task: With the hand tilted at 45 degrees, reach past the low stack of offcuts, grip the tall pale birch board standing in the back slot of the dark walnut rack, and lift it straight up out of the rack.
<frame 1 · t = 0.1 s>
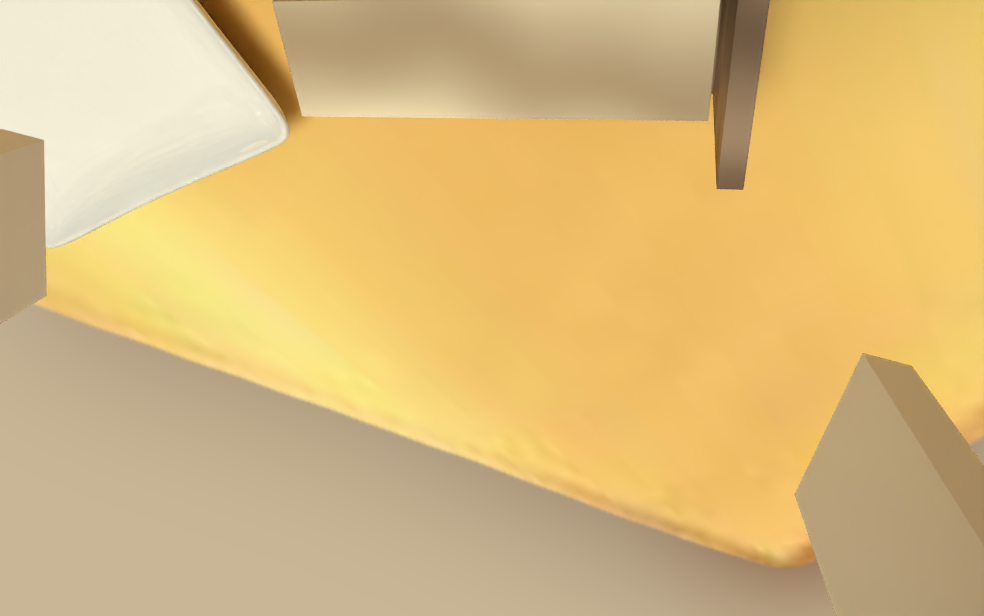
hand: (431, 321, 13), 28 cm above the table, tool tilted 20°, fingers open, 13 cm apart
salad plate: (50, 11, 43), on the table
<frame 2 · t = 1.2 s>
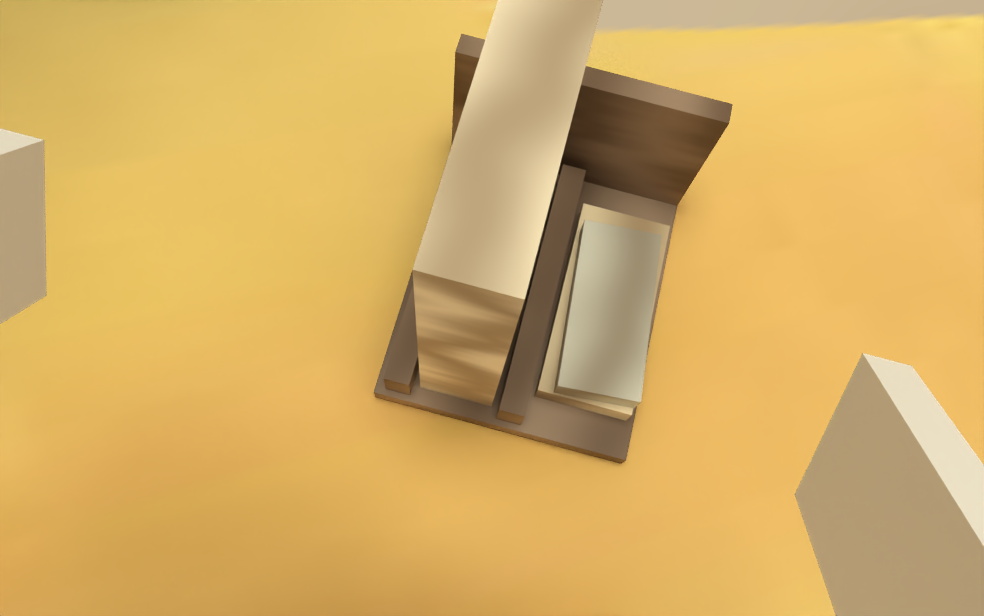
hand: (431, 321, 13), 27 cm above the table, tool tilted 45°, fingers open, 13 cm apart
walnut rack: (486, 290, 41), on the table
offcut stack: (601, 313, 40), point 1 cm above the table, touching walnut rack
birch board: (487, 283, 41), point 1 cm above the table, touching walnut rack
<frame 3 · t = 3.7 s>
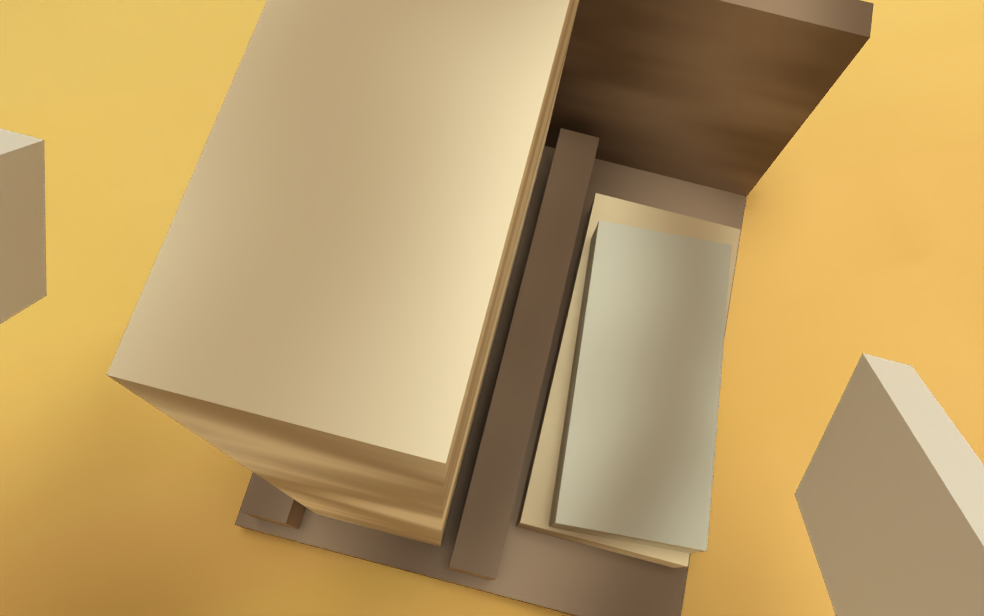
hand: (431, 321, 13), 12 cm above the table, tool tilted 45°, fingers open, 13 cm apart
walnut rack: (436, 339, 25), on the table
offcut stack: (628, 377, 24), point 1 cm above the table, touching walnut rack
birch board: (436, 329, 24), point 1 cm above the table, touching walnut rack
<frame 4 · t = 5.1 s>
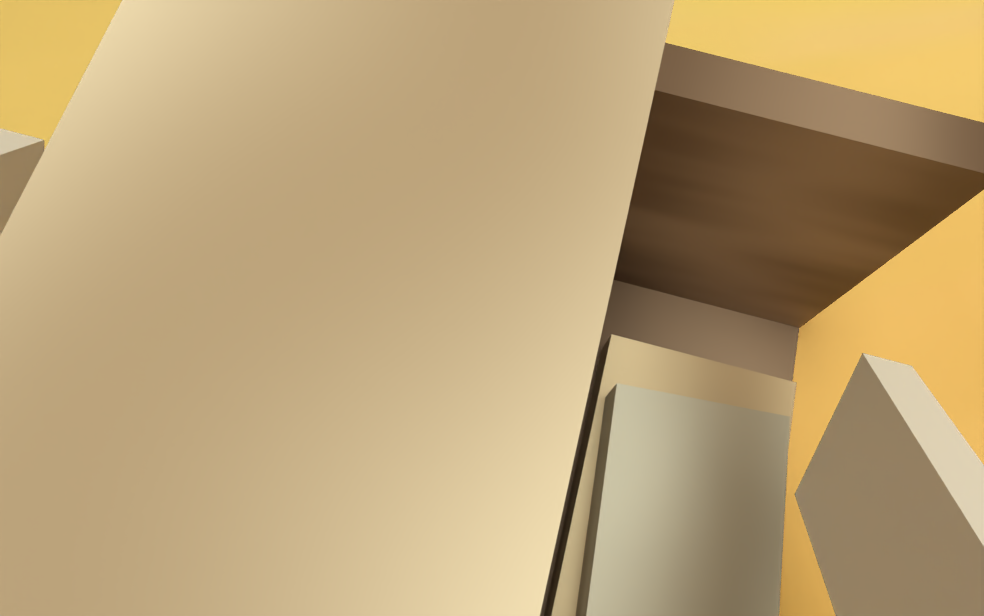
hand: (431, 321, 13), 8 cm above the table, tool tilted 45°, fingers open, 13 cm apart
walnut rack: (408, 514, 20), on the table
offcut stack: (652, 575, 19), point 1 cm above the table, touching walnut rack
birch board: (406, 510, 19), point 1 cm above the table, touching walnut rack
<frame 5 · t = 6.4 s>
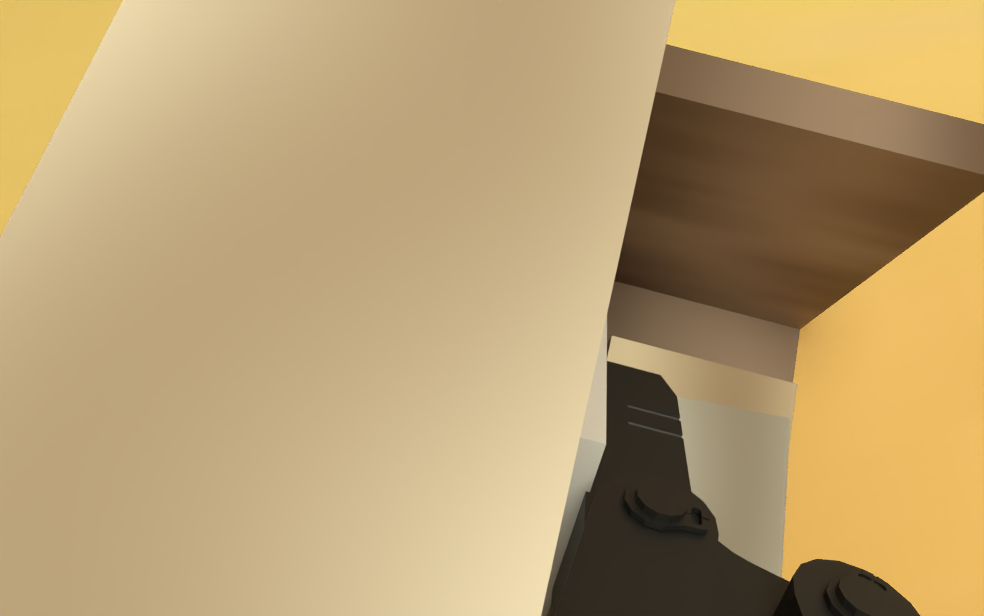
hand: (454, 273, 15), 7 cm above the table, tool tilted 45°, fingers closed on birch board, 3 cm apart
walnut rack: (408, 516, 20), on the table
offcut stack: (652, 576, 19), point 1 cm above the table, touching walnut rack
birch board: (406, 512, 19), point 1 cm above the table, touching gripper, walnut rack
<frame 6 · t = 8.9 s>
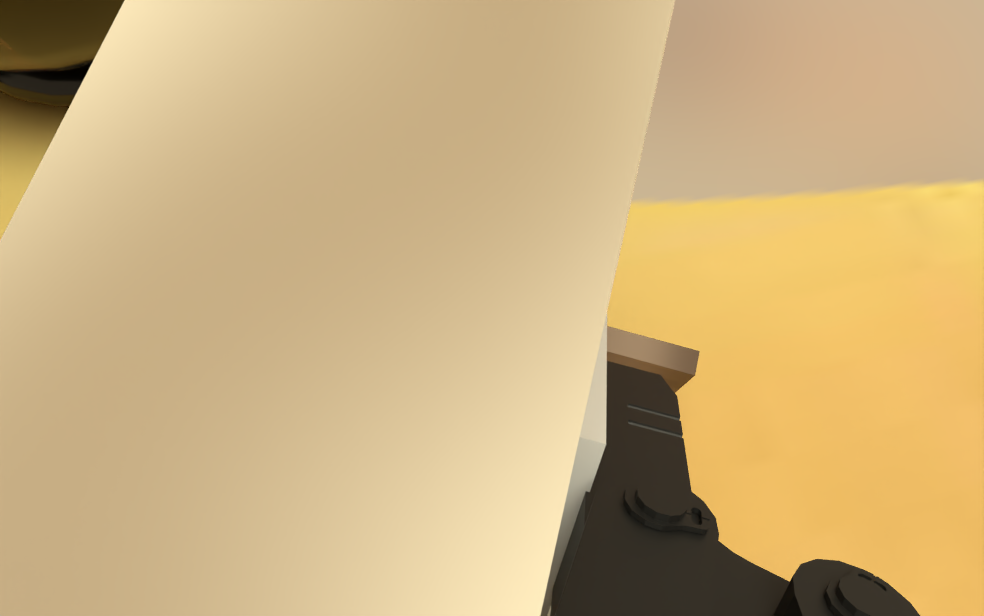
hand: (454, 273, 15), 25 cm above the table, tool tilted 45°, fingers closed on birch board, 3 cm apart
walnut rack: (432, 517, 37), on the table
birch board: (406, 511, 19), point 19 cm above the table, touching gripper
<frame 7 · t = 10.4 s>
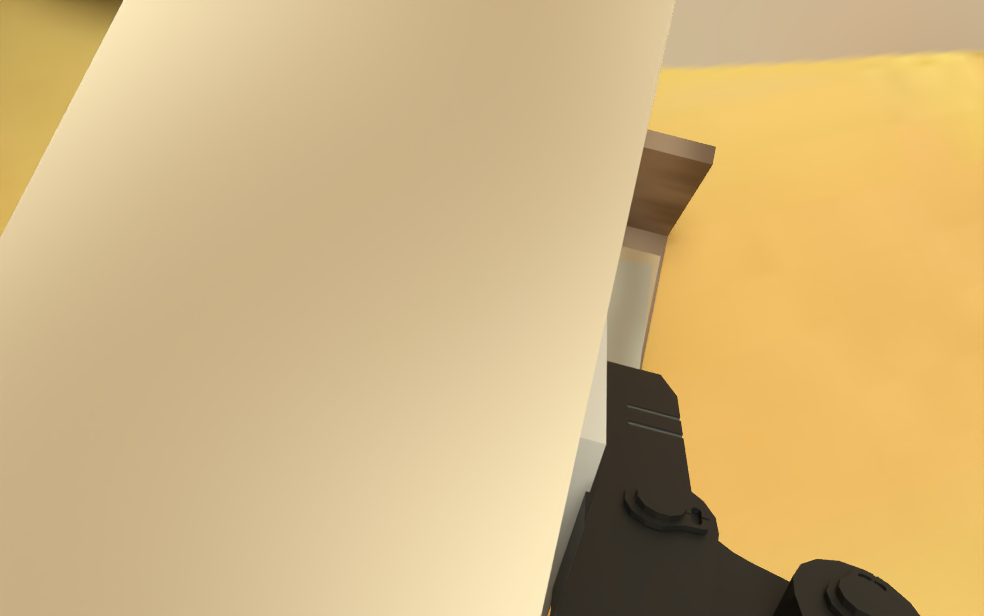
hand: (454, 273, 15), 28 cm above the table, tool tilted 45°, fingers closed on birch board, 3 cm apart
walnut rack: (489, 317, 44), on the table
offcut stack: (596, 338, 43), point 1 cm above the table, touching walnut rack
birch board: (406, 512, 19), point 22 cm above the table, touching gripper
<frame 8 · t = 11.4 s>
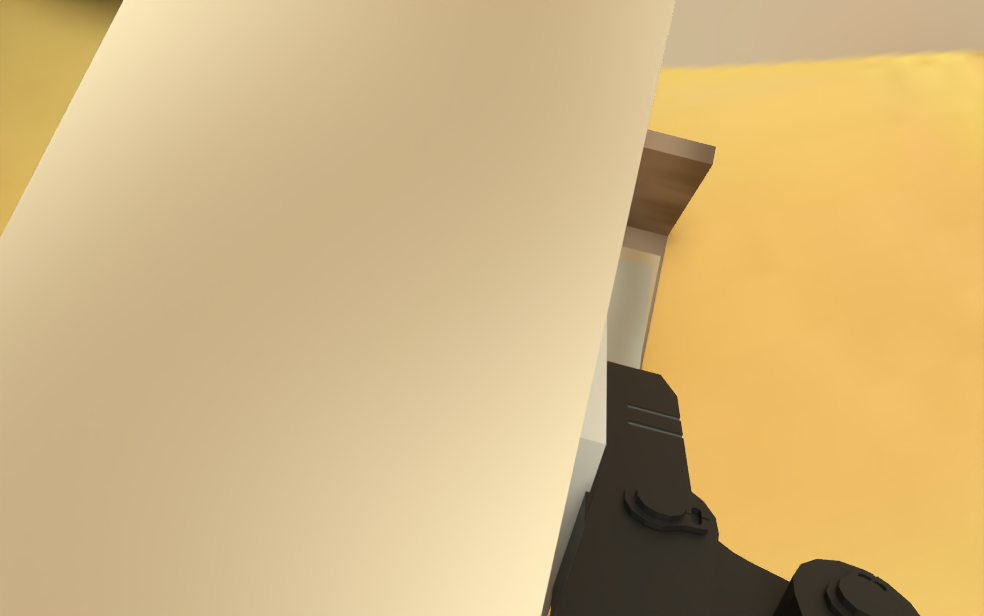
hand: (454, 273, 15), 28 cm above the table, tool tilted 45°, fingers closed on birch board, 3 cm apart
walnut rack: (489, 317, 44), on the table
offcut stack: (596, 338, 43), point 1 cm above the table, touching walnut rack
birch board: (406, 512, 19), point 22 cm above the table, touching gripper
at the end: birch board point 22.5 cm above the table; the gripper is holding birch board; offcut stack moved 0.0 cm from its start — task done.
